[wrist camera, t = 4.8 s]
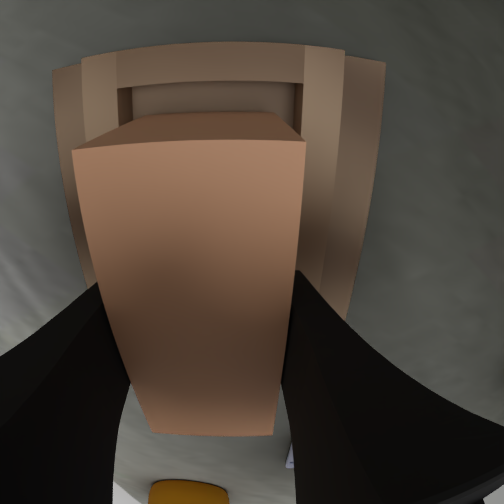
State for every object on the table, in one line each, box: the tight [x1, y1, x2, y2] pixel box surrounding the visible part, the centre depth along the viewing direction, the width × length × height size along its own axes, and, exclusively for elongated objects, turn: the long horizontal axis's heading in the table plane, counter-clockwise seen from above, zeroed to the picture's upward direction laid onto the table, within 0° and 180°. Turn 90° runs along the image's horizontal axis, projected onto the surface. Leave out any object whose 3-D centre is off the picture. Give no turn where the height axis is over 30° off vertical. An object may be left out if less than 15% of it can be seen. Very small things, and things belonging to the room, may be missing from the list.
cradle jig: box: [52, 42, 386, 321], centre depth 12 cm, size 14×12×2 cm
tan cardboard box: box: [72, 112, 306, 436], centre depth 9 cm, size 9×4×5 cm, turn 179°
